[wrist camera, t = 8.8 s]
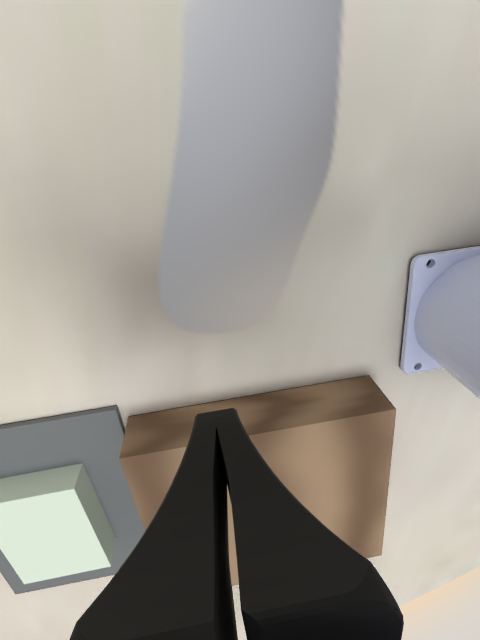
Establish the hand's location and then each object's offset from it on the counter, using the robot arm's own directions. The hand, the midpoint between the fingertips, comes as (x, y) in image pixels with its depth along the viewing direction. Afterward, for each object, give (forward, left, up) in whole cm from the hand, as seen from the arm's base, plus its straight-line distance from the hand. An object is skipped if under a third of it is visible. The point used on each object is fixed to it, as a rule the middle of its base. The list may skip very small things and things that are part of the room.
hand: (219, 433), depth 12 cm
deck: (-2, +13, -9) cm, 16 cm away
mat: (+13, +13, -9) cm, 20 cm away
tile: (+13, +13, -7) cm, 19 cm away
